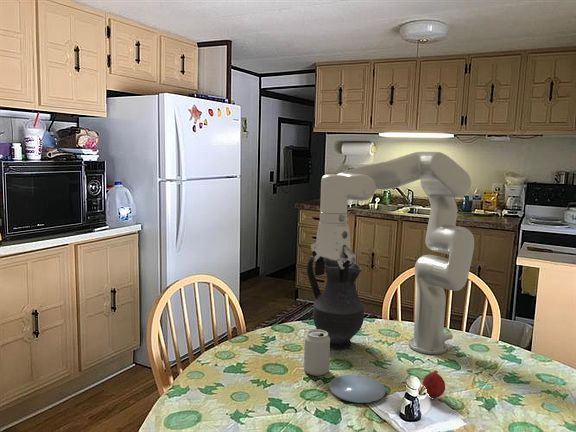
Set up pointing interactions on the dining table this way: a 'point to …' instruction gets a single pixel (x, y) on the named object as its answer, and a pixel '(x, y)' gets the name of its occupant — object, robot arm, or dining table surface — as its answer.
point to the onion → (434, 384)
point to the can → (316, 352)
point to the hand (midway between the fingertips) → (330, 278)
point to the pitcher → (337, 304)
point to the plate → (357, 388)
